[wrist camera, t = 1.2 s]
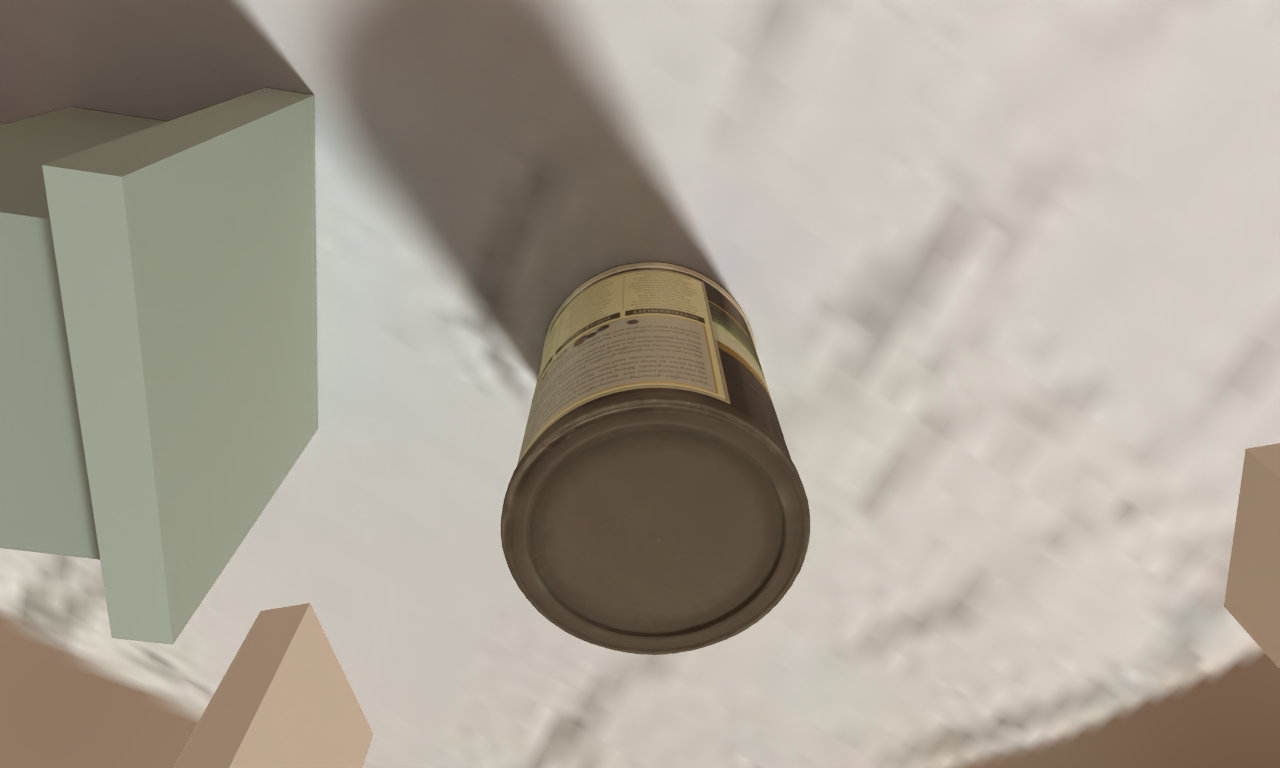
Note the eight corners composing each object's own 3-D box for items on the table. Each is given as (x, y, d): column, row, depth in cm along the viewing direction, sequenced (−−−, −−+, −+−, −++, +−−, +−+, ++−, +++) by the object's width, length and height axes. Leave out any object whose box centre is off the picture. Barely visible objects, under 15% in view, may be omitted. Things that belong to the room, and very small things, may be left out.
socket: (108, 402, 42) (-138, 610, 29) (64, 56, 35) (-290, 116, 22) (317, 429, 43) (172, 644, 29) (314, 95, 36) (122, 176, 22)
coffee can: (798, 320, 41) (873, 485, 28) (688, 485, 44) (710, 694, 32) (602, 218, 38) (587, 345, 26) (505, 400, 42) (450, 589, 30)
